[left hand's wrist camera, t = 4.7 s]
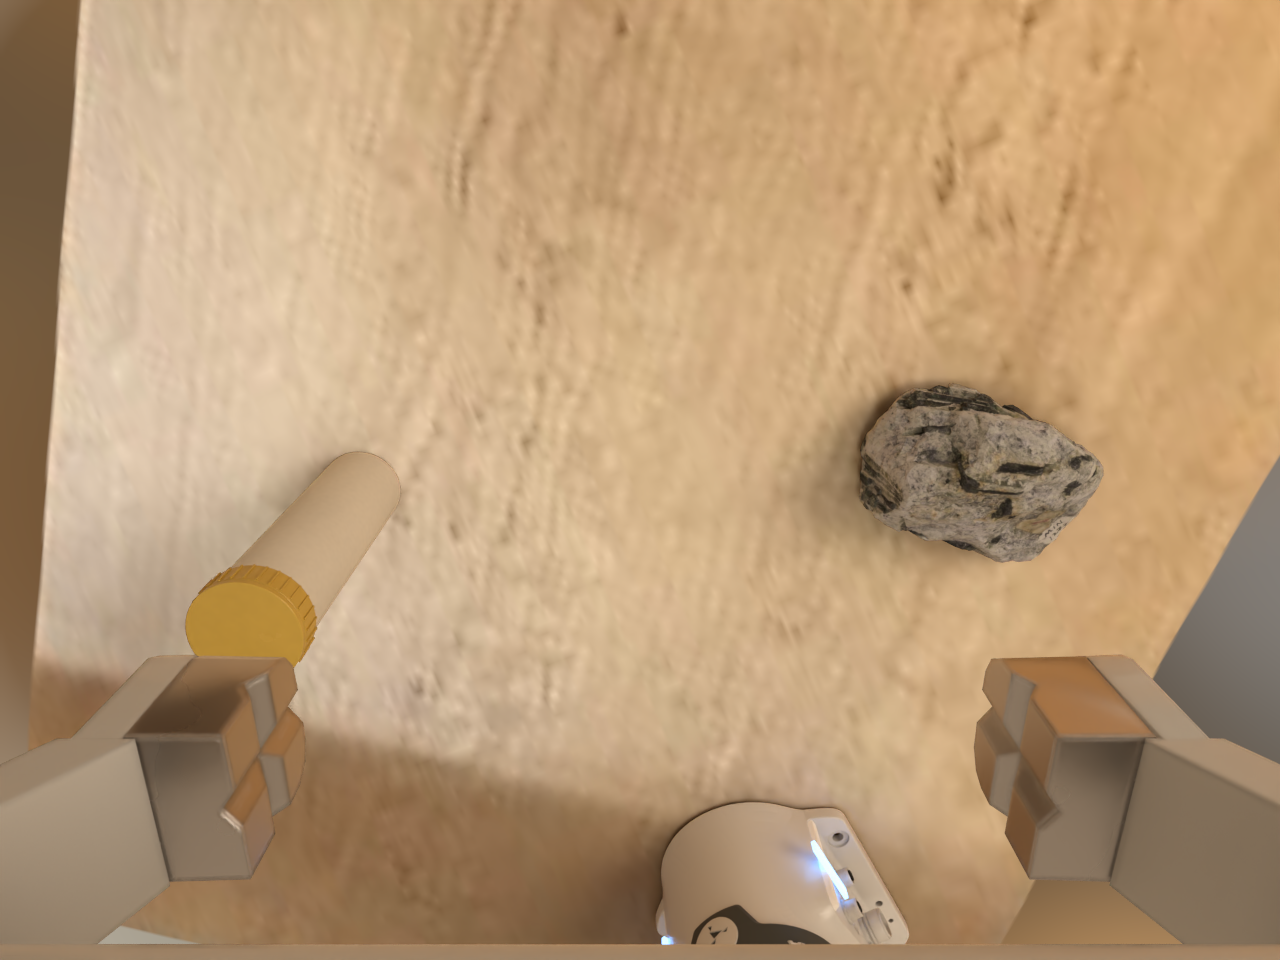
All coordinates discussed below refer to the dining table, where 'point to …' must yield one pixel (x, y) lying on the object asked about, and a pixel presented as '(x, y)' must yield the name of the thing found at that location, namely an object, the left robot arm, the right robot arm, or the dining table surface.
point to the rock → (974, 473)
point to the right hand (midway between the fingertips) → (15, 824)
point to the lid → (251, 615)
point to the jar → (329, 527)
